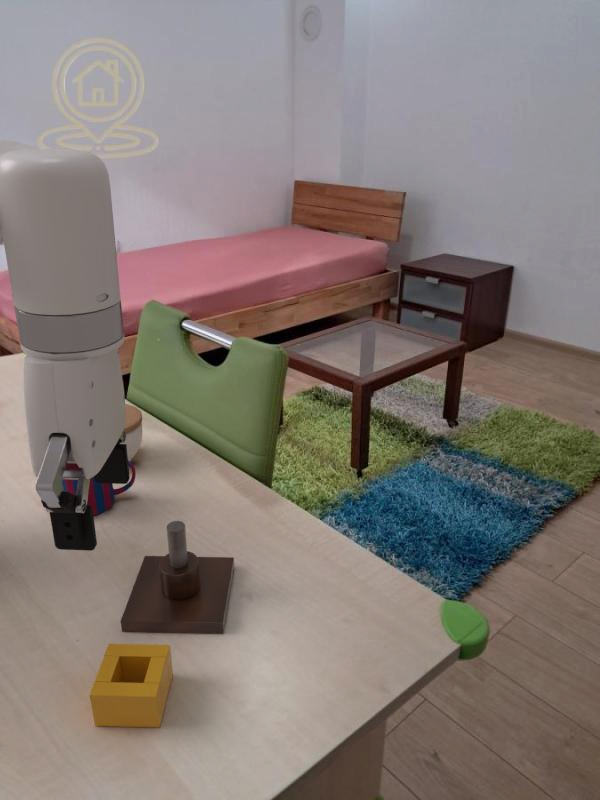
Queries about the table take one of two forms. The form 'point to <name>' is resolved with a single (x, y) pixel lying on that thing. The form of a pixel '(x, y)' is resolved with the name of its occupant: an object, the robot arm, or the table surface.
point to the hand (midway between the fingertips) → (95, 512)
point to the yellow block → (132, 685)
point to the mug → (97, 490)
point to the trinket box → (133, 430)
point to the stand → (179, 590)
